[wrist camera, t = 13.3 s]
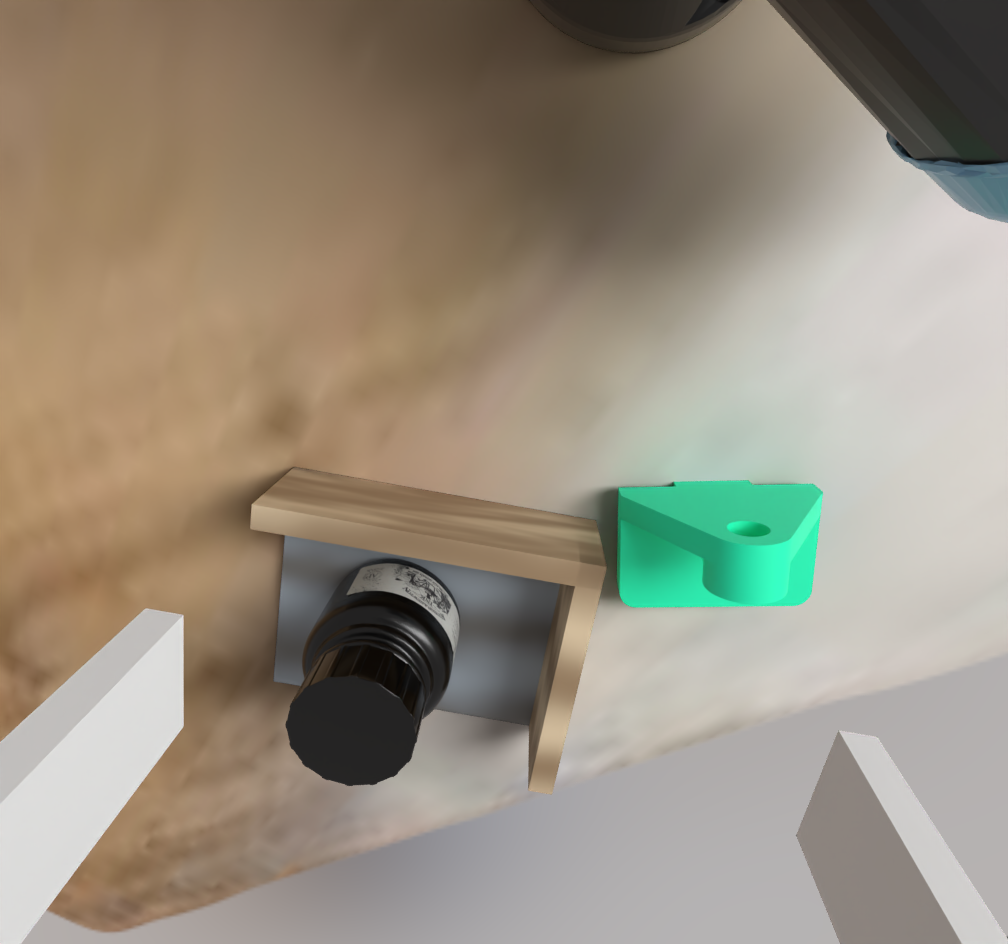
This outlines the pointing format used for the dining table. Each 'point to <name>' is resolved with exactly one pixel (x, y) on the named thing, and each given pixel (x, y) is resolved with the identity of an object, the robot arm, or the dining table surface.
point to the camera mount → (717, 544)
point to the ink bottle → (373, 672)
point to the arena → (452, 590)
